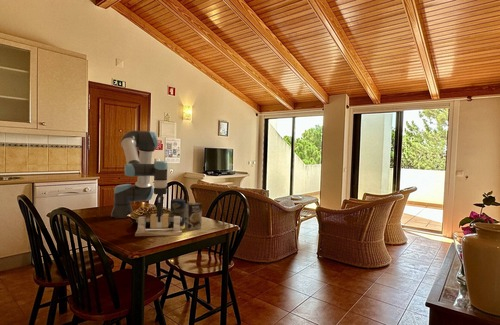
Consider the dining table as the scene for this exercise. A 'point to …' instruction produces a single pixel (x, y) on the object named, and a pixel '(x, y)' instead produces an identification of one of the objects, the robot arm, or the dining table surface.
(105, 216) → the dining table surface
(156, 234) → the shaft rig
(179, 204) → the canister
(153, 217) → the block
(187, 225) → the coffee box
